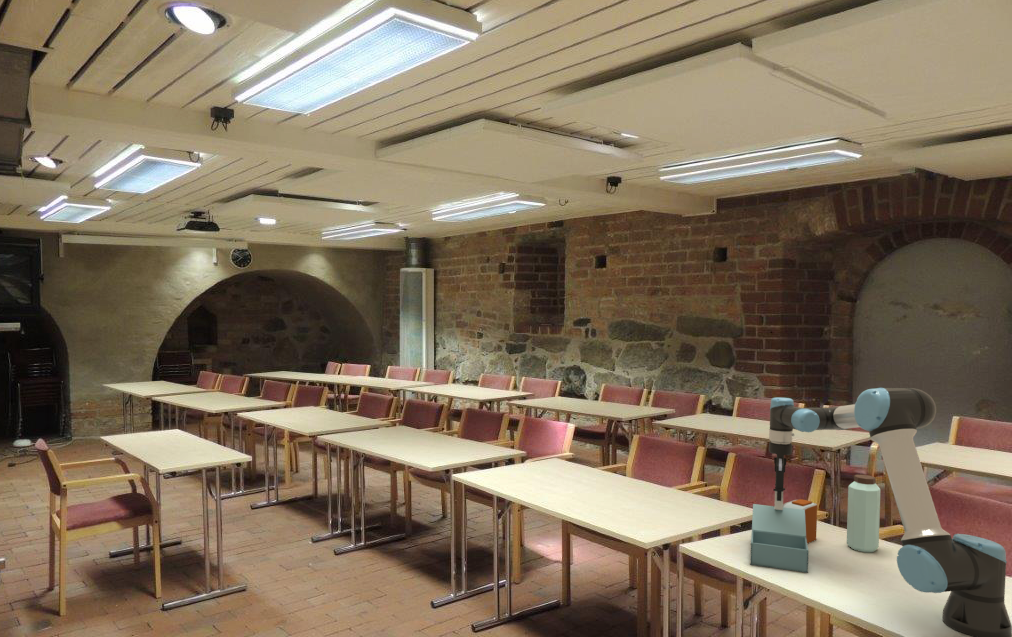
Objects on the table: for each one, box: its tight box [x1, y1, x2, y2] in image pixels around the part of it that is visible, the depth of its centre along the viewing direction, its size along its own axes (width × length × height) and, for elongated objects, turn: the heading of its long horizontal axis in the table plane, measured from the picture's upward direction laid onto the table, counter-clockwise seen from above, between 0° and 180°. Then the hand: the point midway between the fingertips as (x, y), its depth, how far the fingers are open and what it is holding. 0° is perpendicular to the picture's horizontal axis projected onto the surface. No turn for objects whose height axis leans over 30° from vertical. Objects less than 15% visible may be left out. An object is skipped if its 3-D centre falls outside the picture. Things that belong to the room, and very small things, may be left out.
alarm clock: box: [783, 498, 818, 544], centre depth 250 cm, size 15×8×14 cm, turn 130°
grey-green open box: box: [750, 529, 809, 573], centre depth 228 cm, size 14×17×7 cm
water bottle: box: [846, 474, 881, 553], centre depth 243 cm, size 10×10×25 cm
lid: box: [751, 503, 806, 537], centre depth 241 cm, size 14×17×1 cm
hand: (778, 509), depth 245 cm, fingers closed
